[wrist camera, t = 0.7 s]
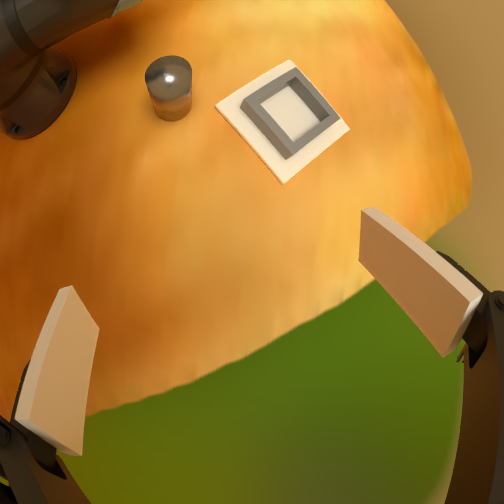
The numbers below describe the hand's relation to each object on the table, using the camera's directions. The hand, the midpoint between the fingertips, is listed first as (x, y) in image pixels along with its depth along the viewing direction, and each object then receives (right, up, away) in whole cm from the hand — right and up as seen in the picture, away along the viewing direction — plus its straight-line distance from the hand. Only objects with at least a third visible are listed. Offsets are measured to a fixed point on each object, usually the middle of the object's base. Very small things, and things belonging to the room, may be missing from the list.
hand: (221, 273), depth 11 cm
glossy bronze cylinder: (-9, +20, +21) cm, 31 cm away
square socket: (+6, +20, +24) cm, 32 cm away
